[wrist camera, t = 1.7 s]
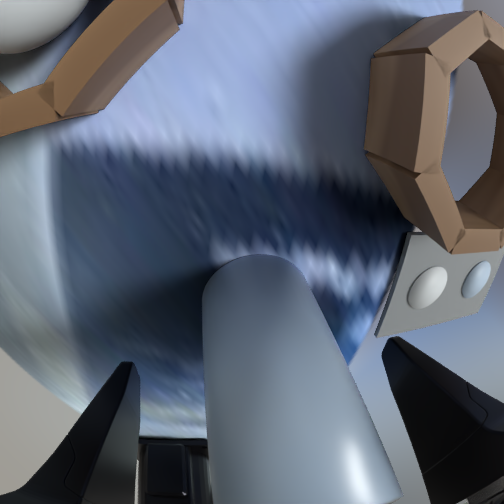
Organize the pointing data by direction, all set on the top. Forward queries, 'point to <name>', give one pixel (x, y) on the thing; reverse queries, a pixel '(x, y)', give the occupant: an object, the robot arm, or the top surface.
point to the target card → (435, 285)
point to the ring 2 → (436, 128)
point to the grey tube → (283, 396)
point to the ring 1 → (94, 64)
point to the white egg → (35, 22)
